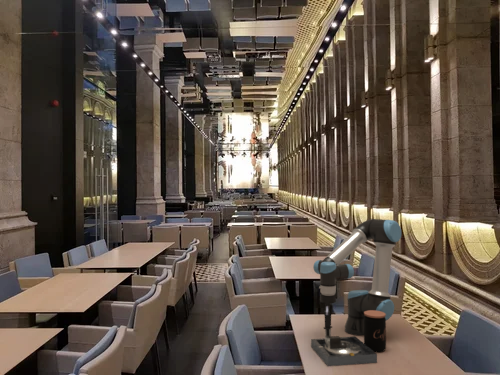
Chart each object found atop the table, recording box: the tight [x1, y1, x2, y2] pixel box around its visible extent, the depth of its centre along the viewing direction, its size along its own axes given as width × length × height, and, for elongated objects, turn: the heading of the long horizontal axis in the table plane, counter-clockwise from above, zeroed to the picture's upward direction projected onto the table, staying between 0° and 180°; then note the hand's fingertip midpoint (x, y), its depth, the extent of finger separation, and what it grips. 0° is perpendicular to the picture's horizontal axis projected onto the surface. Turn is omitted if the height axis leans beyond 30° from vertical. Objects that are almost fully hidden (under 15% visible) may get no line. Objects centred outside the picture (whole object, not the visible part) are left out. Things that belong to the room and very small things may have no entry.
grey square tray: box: [310, 335, 378, 367], centre depth 200 cm, size 24×24×5 cm
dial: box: [325, 335, 360, 355], centre depth 200 cm, size 17×17×6 cm
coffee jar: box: [363, 310, 387, 353], centre depth 207 cm, size 11×11×18 cm
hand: (328, 341), depth 201 cm, fingers closed
